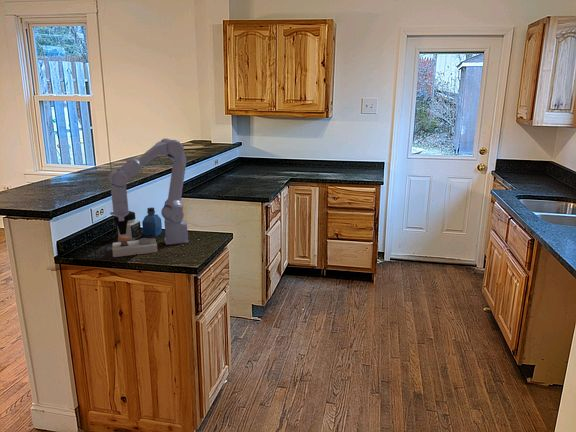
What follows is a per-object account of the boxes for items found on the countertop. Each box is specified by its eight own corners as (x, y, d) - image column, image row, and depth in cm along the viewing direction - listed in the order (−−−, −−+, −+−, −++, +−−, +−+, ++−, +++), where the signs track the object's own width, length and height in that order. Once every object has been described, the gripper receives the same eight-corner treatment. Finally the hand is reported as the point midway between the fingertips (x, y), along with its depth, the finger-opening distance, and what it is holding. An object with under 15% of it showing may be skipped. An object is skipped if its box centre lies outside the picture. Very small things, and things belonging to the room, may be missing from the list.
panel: (155, 245, 195) (155, 238, 194) (157, 252, 187) (157, 245, 186) (113, 249, 190) (112, 242, 189) (113, 257, 181) (112, 249, 180)
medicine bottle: (132, 240, 202) (129, 214, 198) (118, 239, 203) (115, 213, 200) (141, 235, 208) (139, 210, 205) (128, 234, 210) (125, 209, 207)
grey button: (150, 246, 192) (149, 237, 191) (151, 249, 188) (150, 240, 187) (139, 247, 191) (138, 238, 190) (139, 250, 186) (139, 241, 186)
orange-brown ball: (130, 244, 189) (129, 235, 188) (130, 247, 185) (129, 238, 184) (118, 245, 187) (117, 236, 187) (118, 248, 183) (117, 239, 182)
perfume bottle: (155, 235, 208) (153, 210, 205) (143, 235, 209) (141, 209, 206) (162, 232, 214) (160, 207, 211) (149, 231, 215) (147, 206, 212)
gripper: (109, 198, 187) (112, 230, 190) (108, 206, 173) (112, 240, 177) (127, 196, 189) (130, 228, 192) (128, 204, 176) (131, 238, 179)
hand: (123, 234), depth 185 cm, fingers closed
